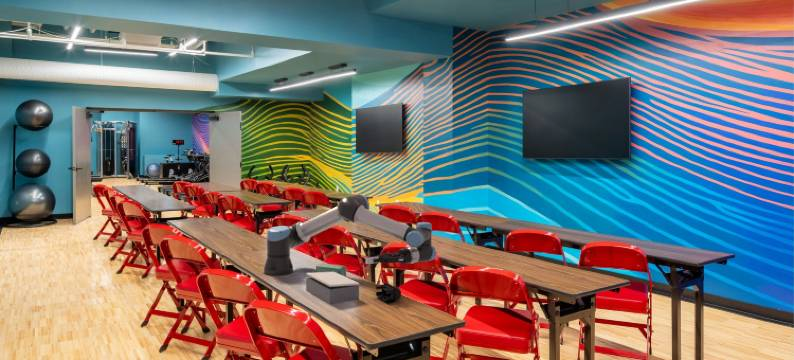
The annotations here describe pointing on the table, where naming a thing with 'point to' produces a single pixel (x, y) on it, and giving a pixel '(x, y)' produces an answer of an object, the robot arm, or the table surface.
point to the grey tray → (332, 291)
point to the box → (331, 268)
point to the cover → (332, 279)
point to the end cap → (388, 293)
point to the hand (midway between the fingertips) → (366, 261)
